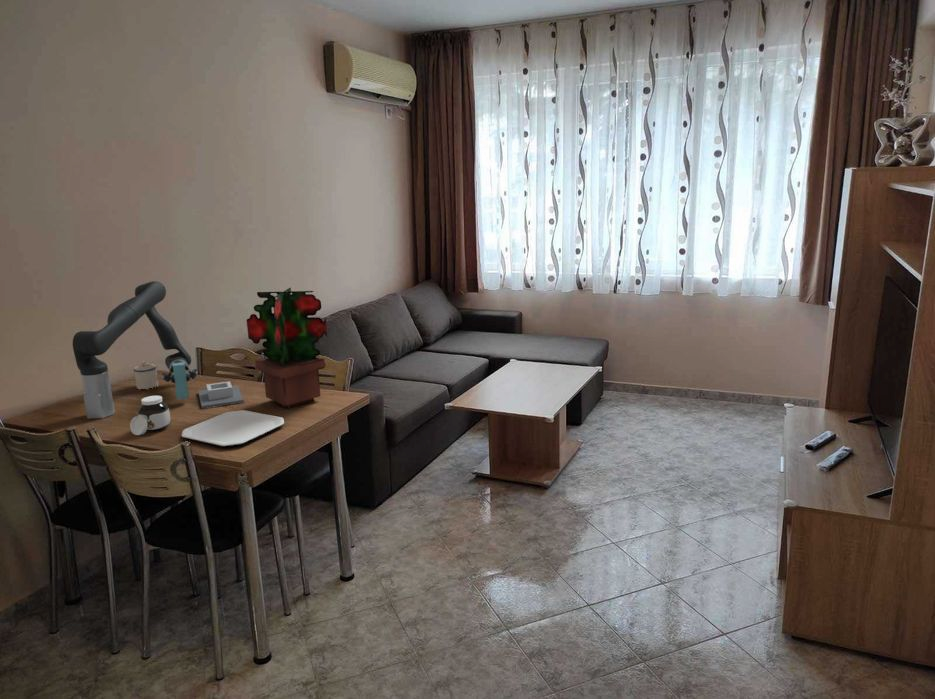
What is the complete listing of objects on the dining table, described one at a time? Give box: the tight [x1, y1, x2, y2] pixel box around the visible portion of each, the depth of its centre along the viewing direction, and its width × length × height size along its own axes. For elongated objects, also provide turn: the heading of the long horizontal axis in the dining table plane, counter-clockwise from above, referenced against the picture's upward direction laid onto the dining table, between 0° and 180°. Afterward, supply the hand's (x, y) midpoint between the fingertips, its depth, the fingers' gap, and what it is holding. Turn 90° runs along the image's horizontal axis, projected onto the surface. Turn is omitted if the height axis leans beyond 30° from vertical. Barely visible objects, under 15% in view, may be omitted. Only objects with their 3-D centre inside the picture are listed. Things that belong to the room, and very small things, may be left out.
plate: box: [180, 409, 285, 448], centre depth 240 cm, size 29×29×2 cm
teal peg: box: [173, 362, 190, 401], centre depth 269 cm, size 4×4×14 cm
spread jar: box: [129, 395, 171, 436], centre depth 241 cm, size 12×11×12 cm
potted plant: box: [246, 287, 328, 408], centre depth 265 cm, size 22×22×45 cm
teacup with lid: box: [133, 360, 159, 390], centre depth 294 cm, size 12×9×12 cm
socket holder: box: [197, 380, 245, 409], centre depth 277 cm, size 22×16×5 cm
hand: (180, 380), depth 266 cm, fingers closed on teal peg, 4 cm apart
